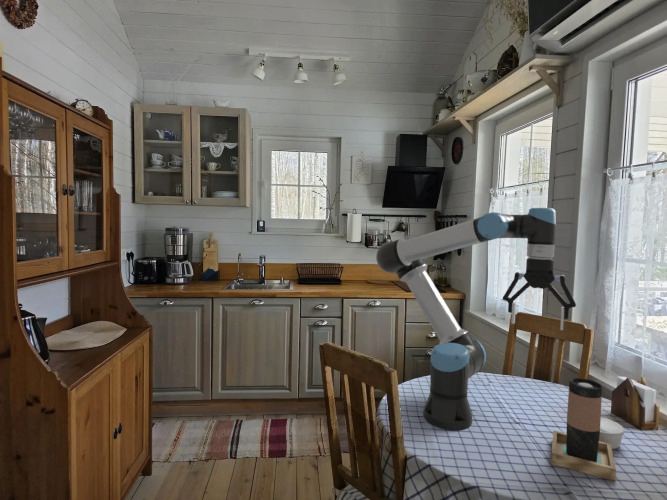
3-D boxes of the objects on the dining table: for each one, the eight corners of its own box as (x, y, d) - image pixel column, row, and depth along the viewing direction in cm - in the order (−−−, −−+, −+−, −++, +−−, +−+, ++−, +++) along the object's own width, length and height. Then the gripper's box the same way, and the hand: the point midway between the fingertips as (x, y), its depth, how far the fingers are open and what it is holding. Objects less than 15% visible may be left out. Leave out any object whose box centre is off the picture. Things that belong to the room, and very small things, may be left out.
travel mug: (603, 465, 105) (608, 390, 104) (571, 461, 106) (575, 387, 105) (591, 450, 112) (595, 379, 111) (561, 446, 114) (564, 376, 113)
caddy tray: (551, 463, 107) (551, 452, 107) (552, 440, 119) (553, 430, 119) (615, 481, 100) (616, 469, 100) (610, 454, 112) (610, 443, 112)
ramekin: (572, 440, 119) (573, 423, 119) (583, 428, 127) (584, 411, 127) (618, 456, 111) (619, 438, 111) (626, 442, 119) (627, 424, 119)
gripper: (495, 256, 128) (492, 322, 129) (588, 261, 116) (584, 334, 117) (498, 255, 135) (495, 318, 136) (587, 259, 122) (583, 329, 123)
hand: (536, 326), depth 126 cm, fingers open, 13 cm apart
